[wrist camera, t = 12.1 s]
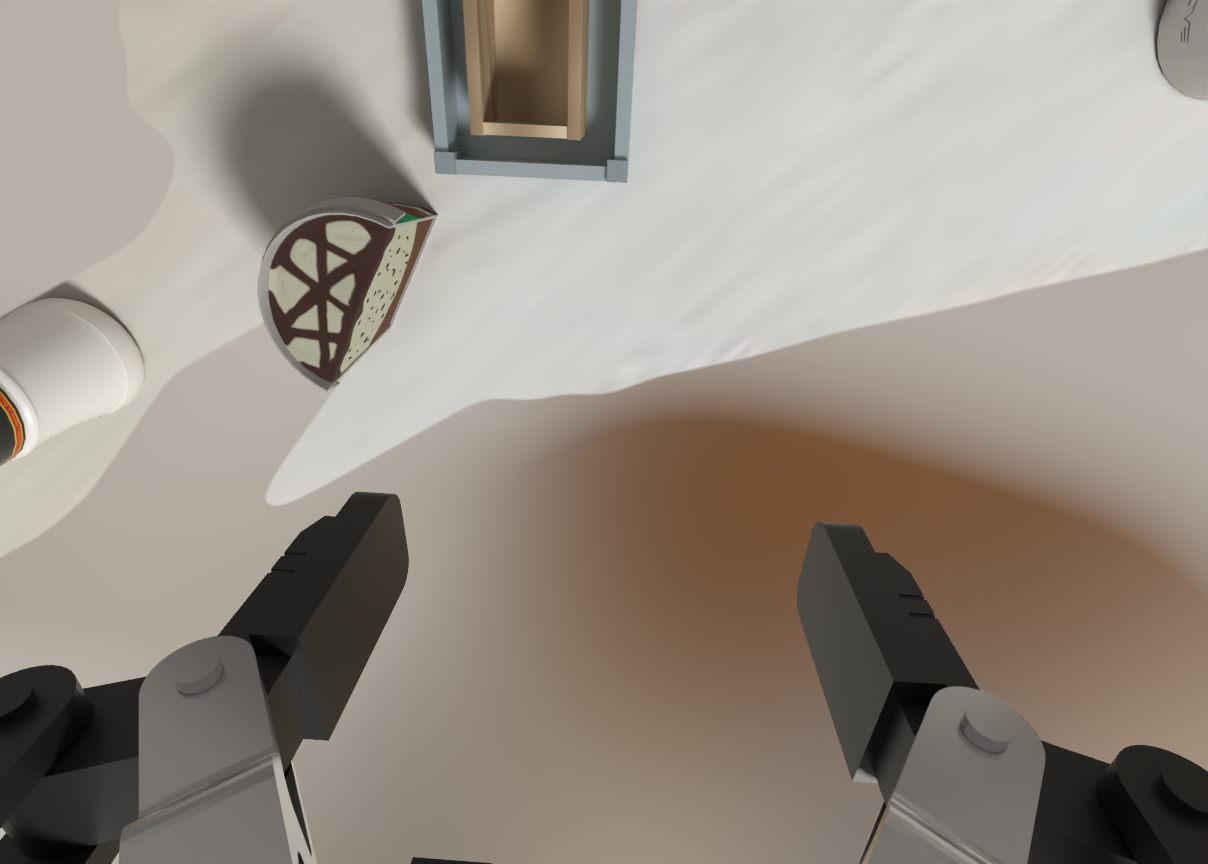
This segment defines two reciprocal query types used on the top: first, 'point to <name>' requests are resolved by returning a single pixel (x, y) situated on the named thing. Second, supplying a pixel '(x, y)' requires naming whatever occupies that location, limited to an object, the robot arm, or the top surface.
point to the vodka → (61, 371)
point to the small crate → (527, 67)
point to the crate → (534, 156)
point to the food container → (338, 280)
